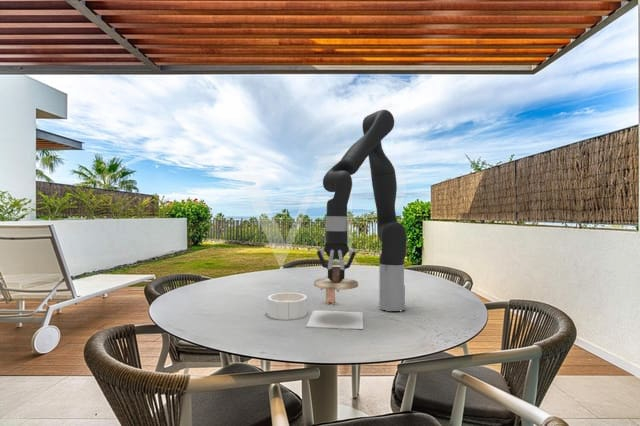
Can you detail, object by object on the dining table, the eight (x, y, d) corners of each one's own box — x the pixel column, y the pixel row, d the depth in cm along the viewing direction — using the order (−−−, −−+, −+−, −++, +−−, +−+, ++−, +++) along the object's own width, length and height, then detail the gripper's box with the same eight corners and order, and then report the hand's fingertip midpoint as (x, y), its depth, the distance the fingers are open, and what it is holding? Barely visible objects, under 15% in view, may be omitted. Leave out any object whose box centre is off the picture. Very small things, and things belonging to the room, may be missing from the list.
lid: (358, 281, 123) (358, 264, 123) (357, 290, 108) (358, 271, 108) (317, 279, 125) (317, 263, 125) (311, 288, 110) (311, 270, 110)
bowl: (309, 309, 130) (309, 293, 130) (303, 320, 116) (303, 302, 116) (273, 307, 131) (273, 292, 131) (263, 318, 117) (263, 301, 117)
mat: (362, 313, 124) (362, 312, 124) (363, 329, 106) (363, 328, 106) (313, 311, 126) (313, 310, 126) (306, 327, 108) (306, 326, 108)
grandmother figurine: (339, 302, 139) (339, 271, 139) (339, 305, 135) (339, 273, 136) (320, 302, 140) (320, 271, 140) (319, 304, 136) (319, 272, 136)
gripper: (357, 229, 120) (356, 279, 120) (317, 228, 121) (317, 277, 121) (357, 230, 112) (356, 283, 112) (314, 229, 114) (314, 281, 114)
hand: (336, 280), depth 117 cm, fingers closed on lid, 3 cm apart
